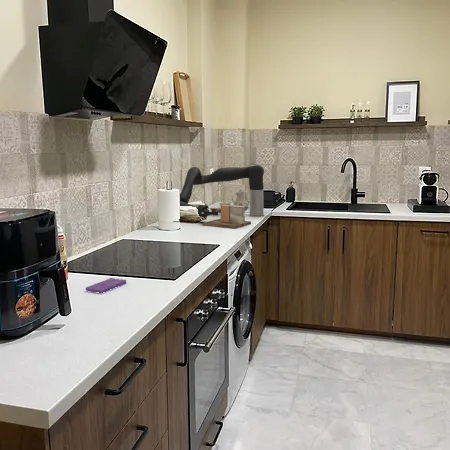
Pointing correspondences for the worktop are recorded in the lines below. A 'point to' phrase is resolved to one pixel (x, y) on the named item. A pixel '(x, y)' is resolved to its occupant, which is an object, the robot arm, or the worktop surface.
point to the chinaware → (239, 199)
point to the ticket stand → (231, 219)
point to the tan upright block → (225, 213)
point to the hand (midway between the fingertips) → (221, 212)
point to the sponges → (106, 285)
